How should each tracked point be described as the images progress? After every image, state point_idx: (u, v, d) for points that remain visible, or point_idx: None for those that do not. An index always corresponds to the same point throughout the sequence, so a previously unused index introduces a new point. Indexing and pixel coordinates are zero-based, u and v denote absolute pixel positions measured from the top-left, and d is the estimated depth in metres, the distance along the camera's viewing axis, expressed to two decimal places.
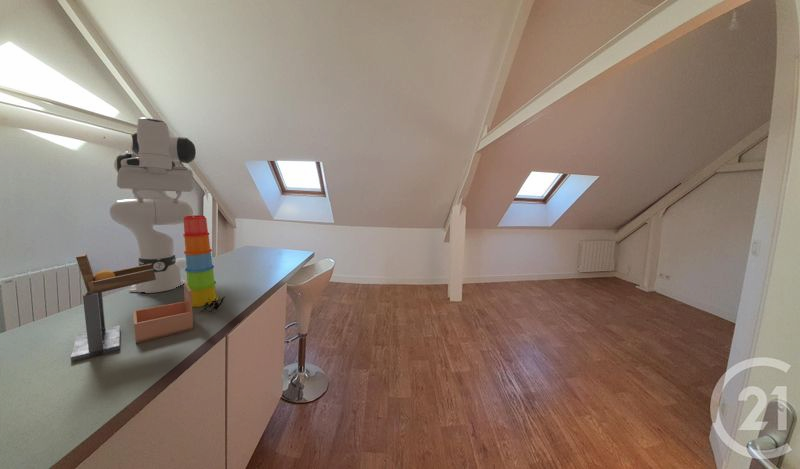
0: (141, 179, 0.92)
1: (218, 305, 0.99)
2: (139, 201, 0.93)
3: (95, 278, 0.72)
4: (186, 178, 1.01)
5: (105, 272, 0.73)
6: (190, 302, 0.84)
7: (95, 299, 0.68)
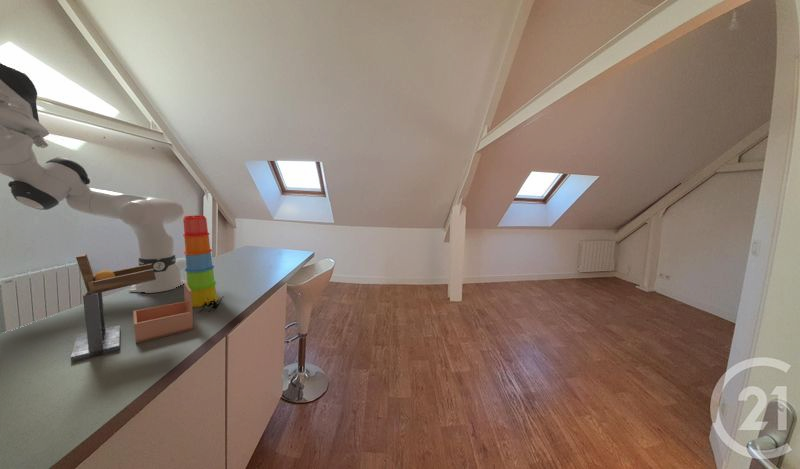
0: None
1: (216, 305, 0.99)
2: (9, 133, 0.66)
3: (95, 278, 0.72)
4: (32, 118, 0.77)
5: (105, 272, 0.73)
6: (190, 302, 0.84)
7: (95, 299, 0.68)
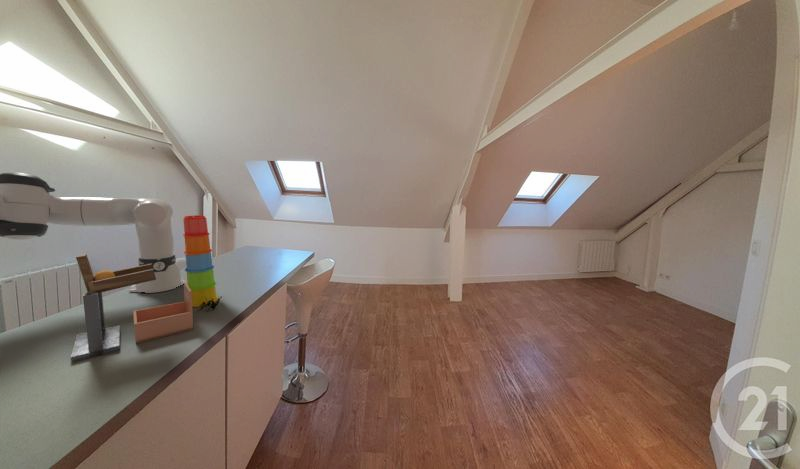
0: None
1: (215, 305, 0.99)
2: None
3: (95, 278, 0.72)
4: None
5: (105, 272, 0.73)
6: (190, 302, 0.84)
7: (95, 299, 0.68)
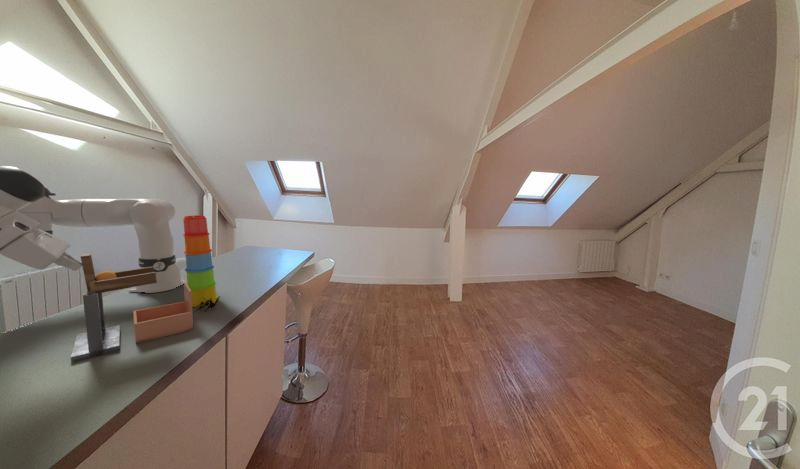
0: (46, 245, 0.63)
1: (213, 305, 0.99)
2: (80, 265, 0.70)
3: (97, 278, 0.72)
4: (50, 234, 0.71)
5: (107, 273, 0.74)
6: (190, 302, 0.84)
7: (95, 299, 0.68)
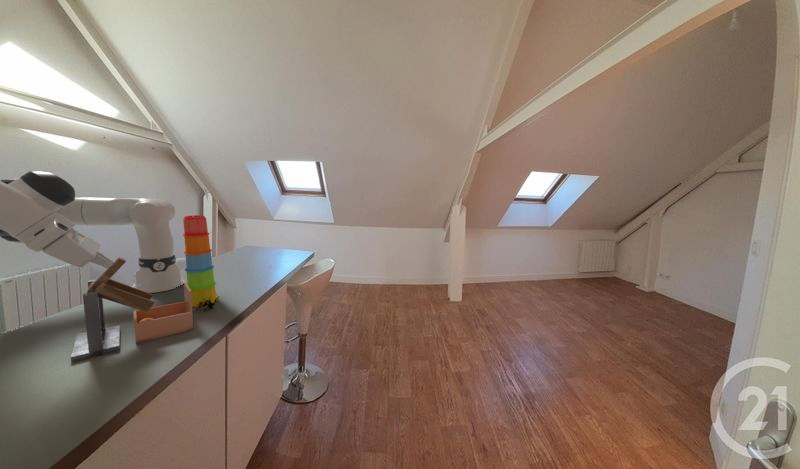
0: (82, 244, 0.68)
1: (211, 305, 0.99)
2: (112, 263, 0.74)
3: None
4: (82, 234, 0.75)
5: None
6: (190, 302, 0.84)
7: (95, 299, 0.68)
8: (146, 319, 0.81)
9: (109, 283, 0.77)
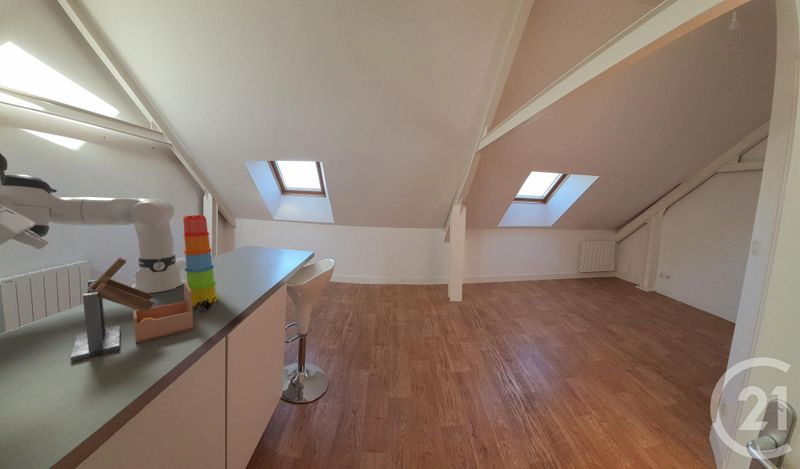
0: (4, 220, 0.59)
1: (209, 305, 0.99)
2: (45, 243, 0.65)
3: None
4: (12, 211, 0.67)
5: None
6: (190, 302, 0.84)
7: (95, 299, 0.68)
8: (148, 319, 0.81)
9: (109, 283, 0.77)
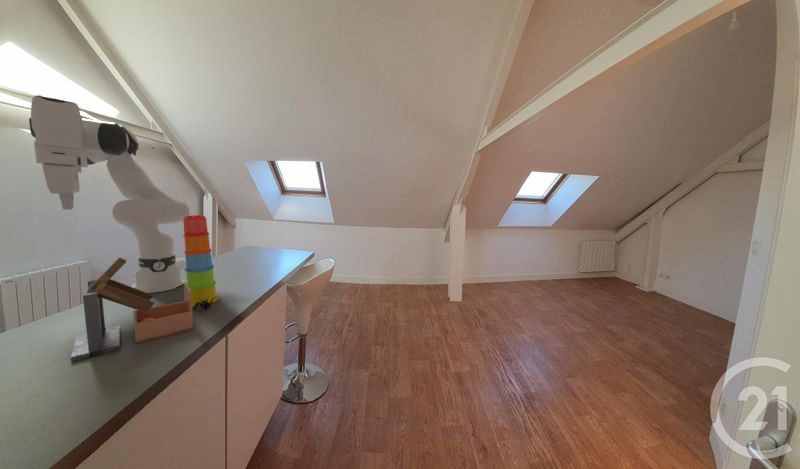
0: (73, 181, 0.73)
1: (207, 305, 0.98)
2: (71, 208, 0.75)
3: None
4: (77, 176, 0.81)
5: None
6: (190, 302, 0.84)
7: (95, 299, 0.68)
8: (149, 319, 0.82)
9: (109, 283, 0.77)
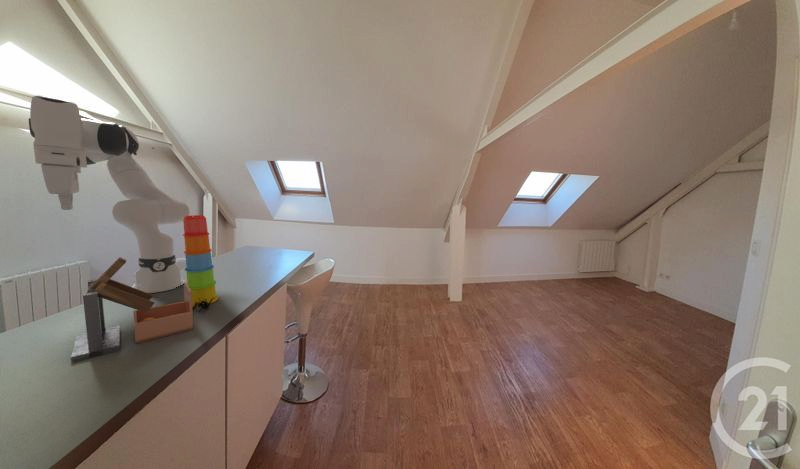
0: (72, 181, 0.72)
1: (206, 305, 0.98)
2: (71, 208, 0.75)
3: None
4: (77, 176, 0.81)
5: None
6: (190, 302, 0.84)
7: (95, 299, 0.68)
8: (150, 318, 0.82)
9: (109, 283, 0.77)
